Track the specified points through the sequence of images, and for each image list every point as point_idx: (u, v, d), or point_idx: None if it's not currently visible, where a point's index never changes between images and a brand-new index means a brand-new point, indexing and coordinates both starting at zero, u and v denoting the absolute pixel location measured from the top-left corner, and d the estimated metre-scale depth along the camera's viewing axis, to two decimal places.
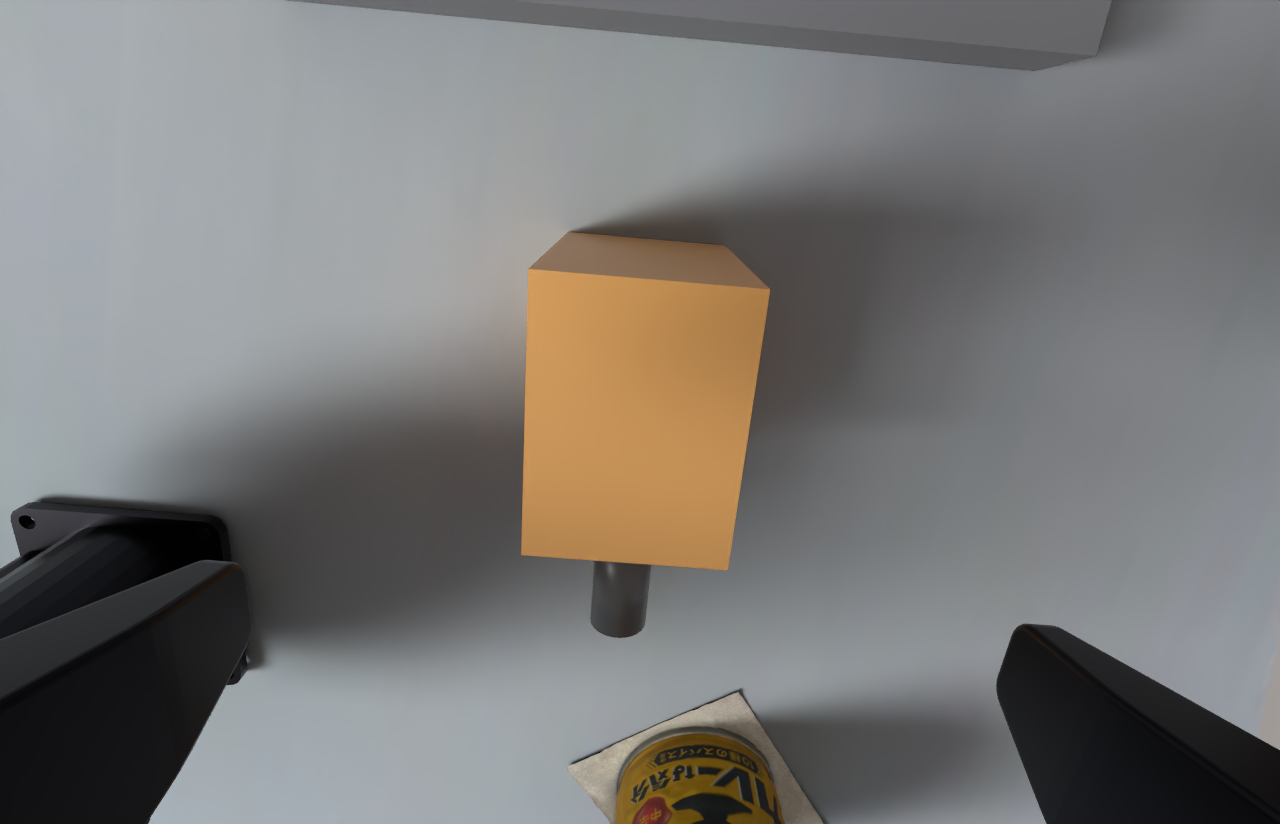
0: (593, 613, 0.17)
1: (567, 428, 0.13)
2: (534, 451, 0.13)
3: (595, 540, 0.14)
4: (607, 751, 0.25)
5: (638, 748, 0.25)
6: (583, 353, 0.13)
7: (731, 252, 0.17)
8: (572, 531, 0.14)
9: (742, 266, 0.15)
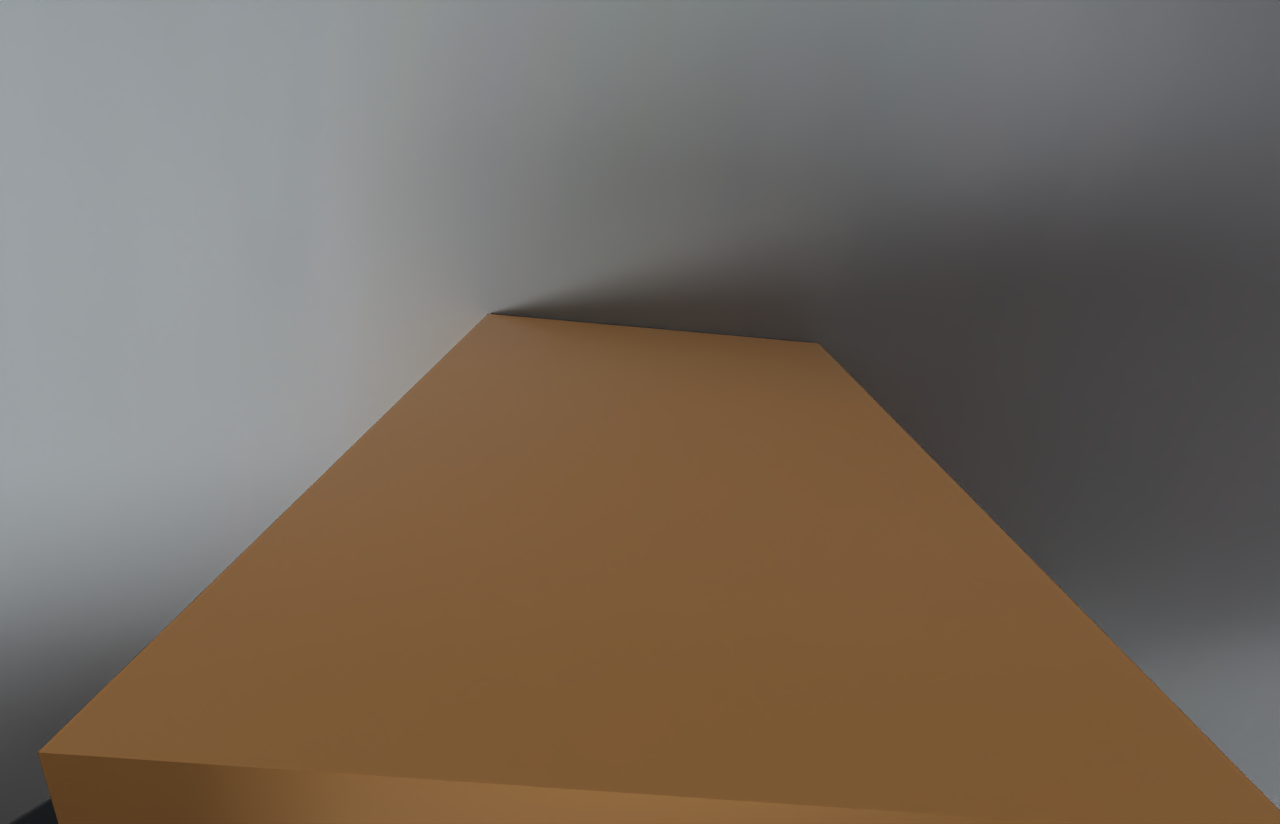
0: None
1: None
2: None
3: None
4: None
5: None
6: None
7: (852, 380, 0.07)
8: None
9: (943, 482, 0.05)
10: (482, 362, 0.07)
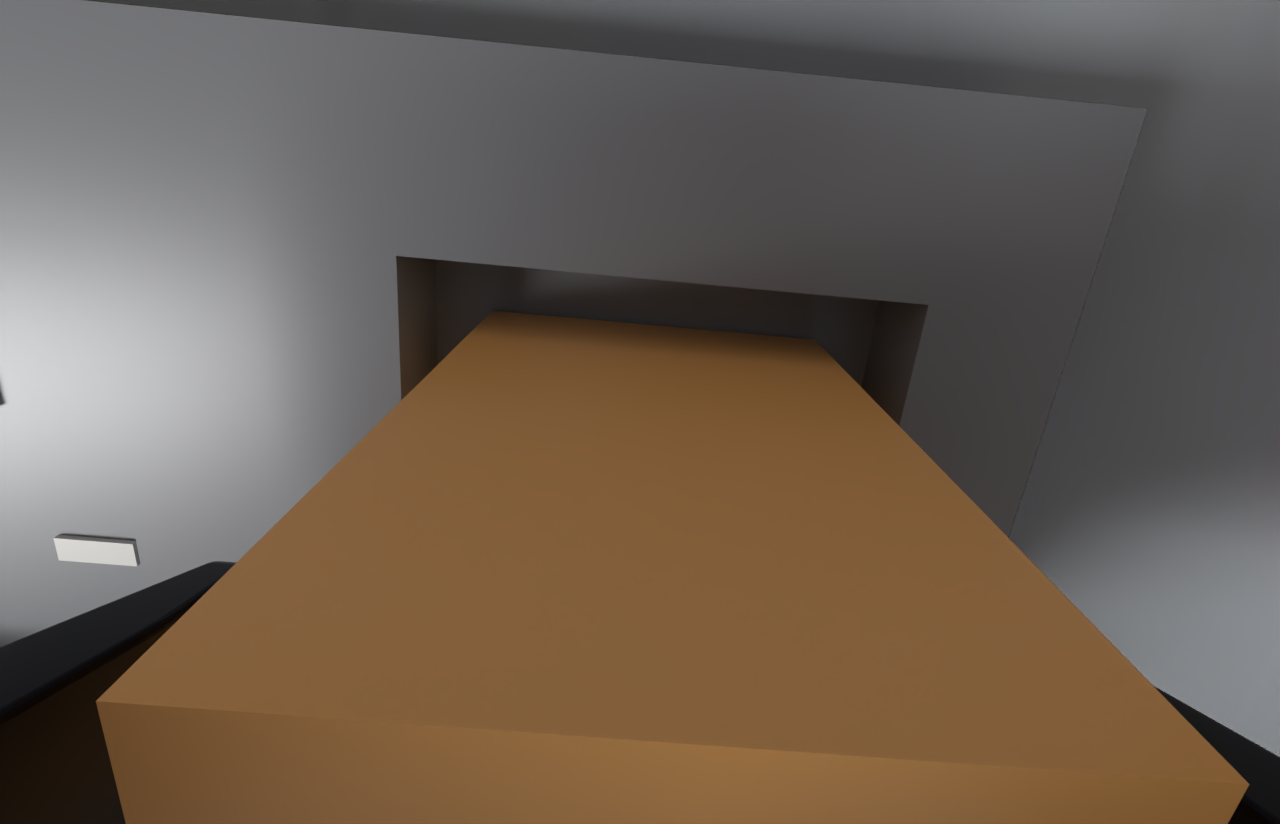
0: None
1: None
2: None
3: None
4: None
5: None
6: None
7: (846, 374, 0.08)
8: None
9: (929, 470, 0.05)
10: (488, 356, 0.07)
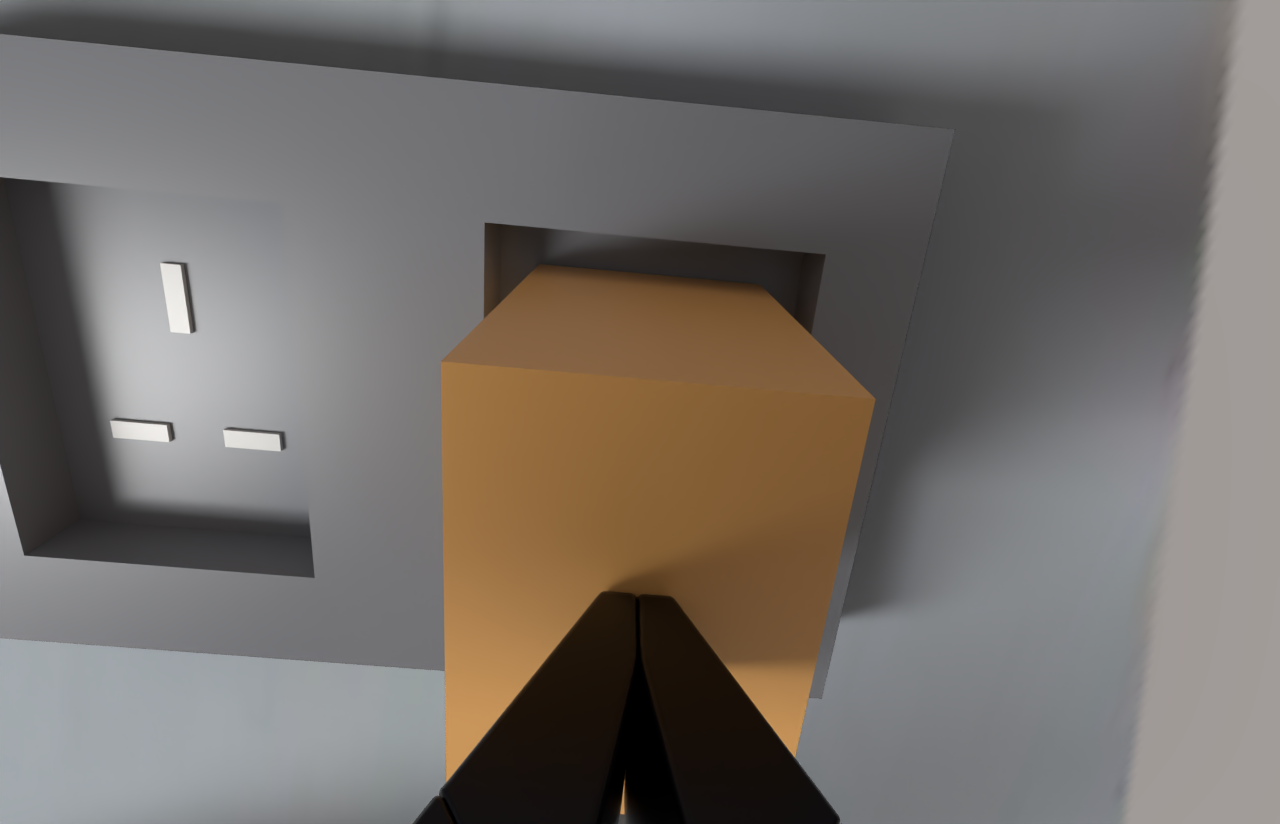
0: None
1: (517, 620, 0.08)
2: (462, 654, 0.08)
3: None
4: None
5: None
6: (542, 502, 0.07)
7: (773, 299, 0.12)
8: None
9: (801, 332, 0.09)
10: (545, 284, 0.11)
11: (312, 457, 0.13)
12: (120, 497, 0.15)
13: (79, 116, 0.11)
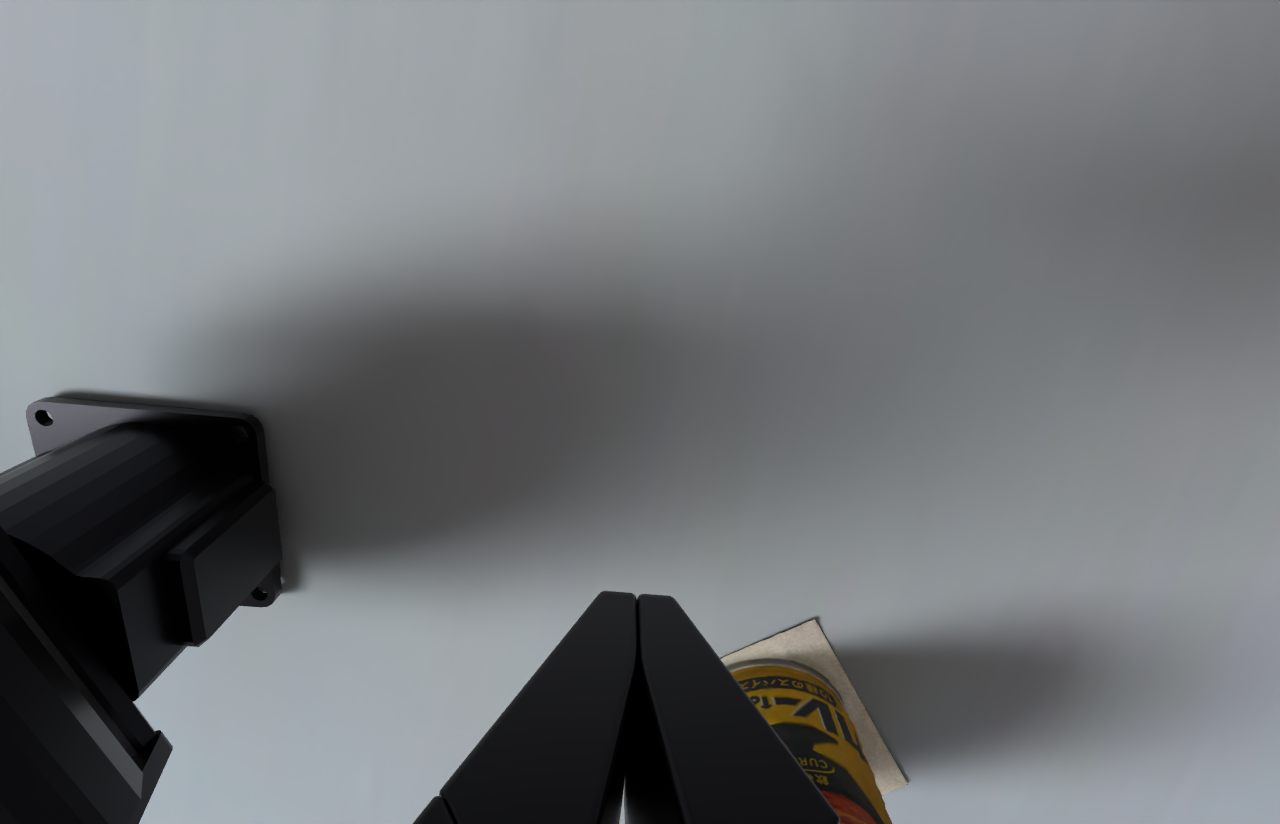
0: None
1: None
2: None
3: None
4: None
5: None
6: None
7: None
8: None
9: None
10: None
11: None
12: None
13: None
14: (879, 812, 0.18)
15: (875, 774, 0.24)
